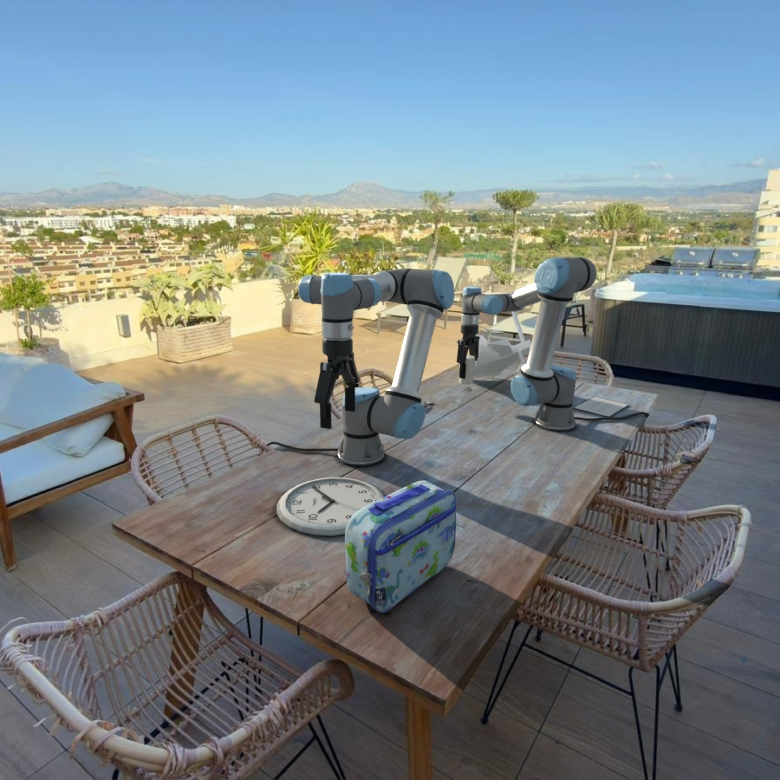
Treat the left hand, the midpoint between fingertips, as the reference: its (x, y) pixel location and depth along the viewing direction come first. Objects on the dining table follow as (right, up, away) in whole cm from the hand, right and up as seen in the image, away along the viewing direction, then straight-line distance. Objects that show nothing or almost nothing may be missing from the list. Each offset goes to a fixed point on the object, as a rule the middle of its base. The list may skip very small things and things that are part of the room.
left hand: (338, 419), depth 134 cm
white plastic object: (+66, +9, +119) cm, 136 cm away
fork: (+29, +1, +89) cm, 93 cm away
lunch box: (+16, -34, -22) cm, 44 cm away
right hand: (+47, +13, +93) cm, 105 cm away
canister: (+47, +11, +94) cm, 106 cm away
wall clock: (-2, -24, +8) cm, 26 cm away
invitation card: (+105, 0, +92) cm, 139 cm away
